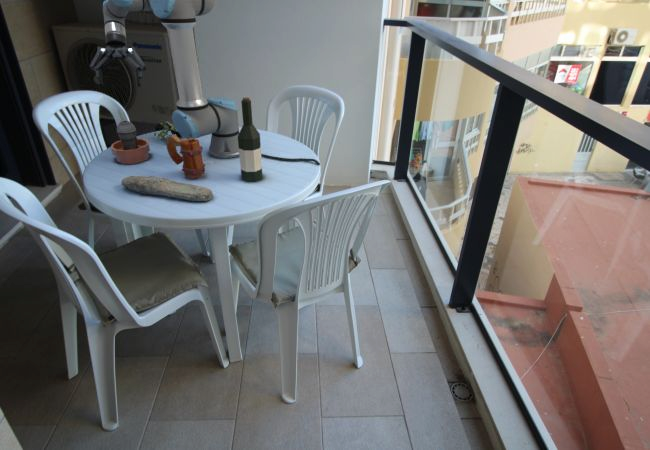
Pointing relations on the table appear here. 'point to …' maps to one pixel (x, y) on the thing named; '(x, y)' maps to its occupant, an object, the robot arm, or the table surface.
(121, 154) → the bowl
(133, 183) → the long grey stone
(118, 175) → the table surface
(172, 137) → the mug
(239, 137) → the wine bottle
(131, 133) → the beverage cup
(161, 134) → the passion flower
